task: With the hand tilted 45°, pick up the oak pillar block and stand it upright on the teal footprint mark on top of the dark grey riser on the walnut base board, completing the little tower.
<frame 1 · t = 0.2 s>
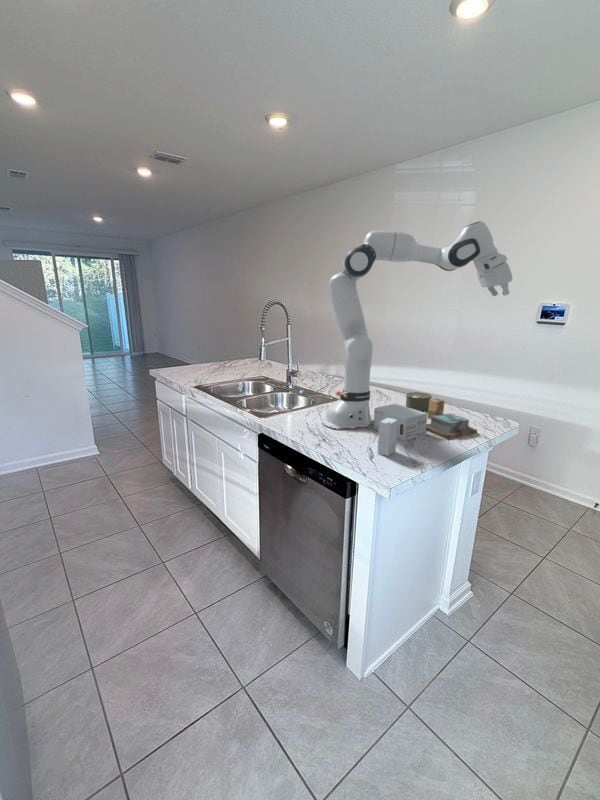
hand: (500, 295, 146), 54 cm above the worktop, tool tilted 30°, fingers open, 8 cm apart
skincare box: (386, 453, 130), on the worktop
can: (417, 408, 183), on the worktop
supplement box: (398, 432, 151), on the worktop
build base: (448, 430, 151), on the worktop
oak pillar: (435, 419, 166), on the worktop
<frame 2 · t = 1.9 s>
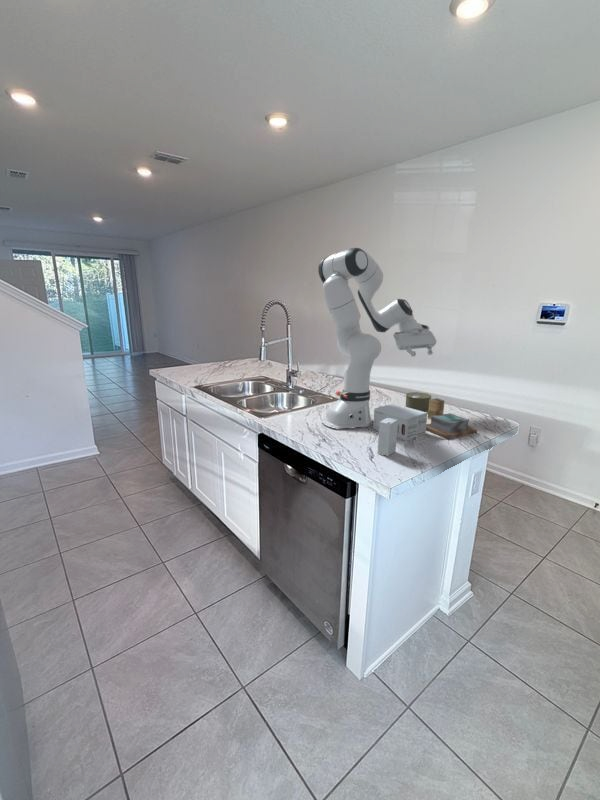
hand: (422, 354, 169), 28 cm above the worktop, tool tilted 45°, fingers open, 8 cm apart
nothing on the worktop moved.
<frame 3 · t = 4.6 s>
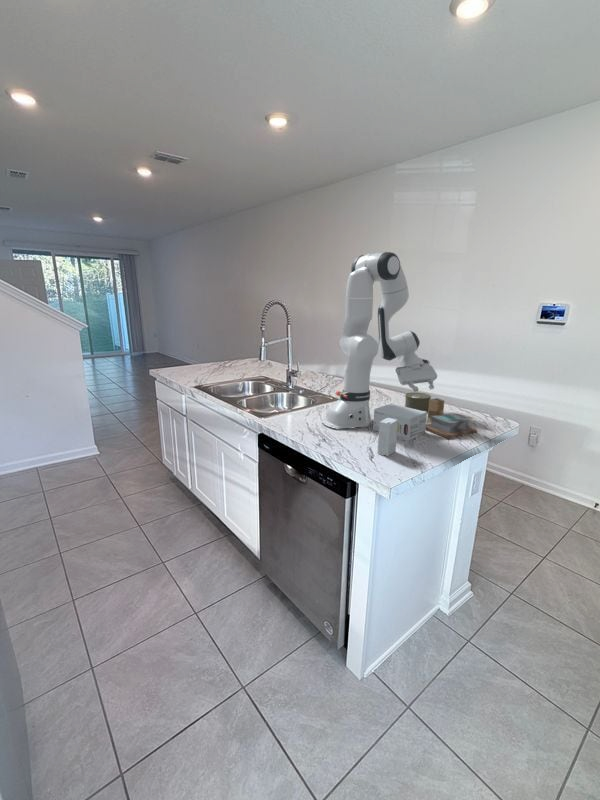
hand: (424, 389, 170), 12 cm above the worktop, tool tilted 45°, fingers open, 8 cm apart
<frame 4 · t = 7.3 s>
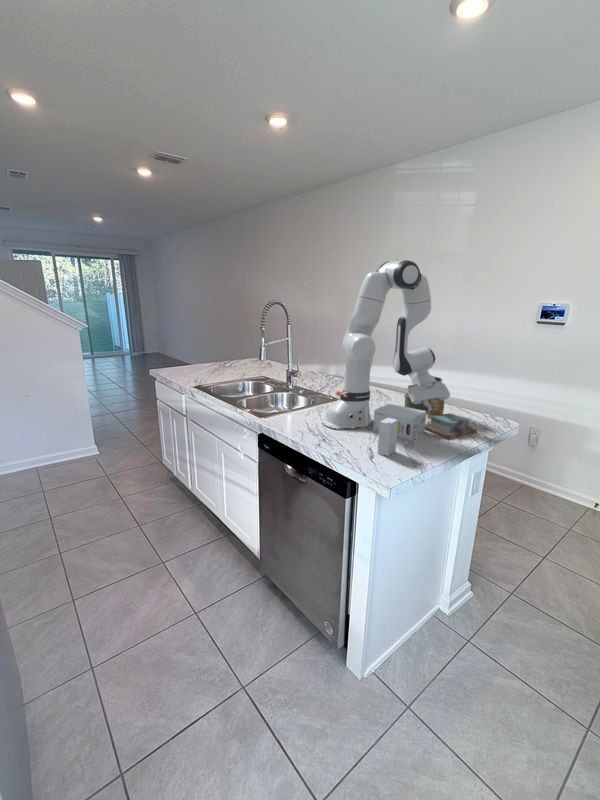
hand: (437, 409, 164), 5 cm above the worktop, tool tilted 45°, fingers closed on oak pillar, 4 cm apart
oak pillar: (435, 419, 166), on the worktop, touching gripper
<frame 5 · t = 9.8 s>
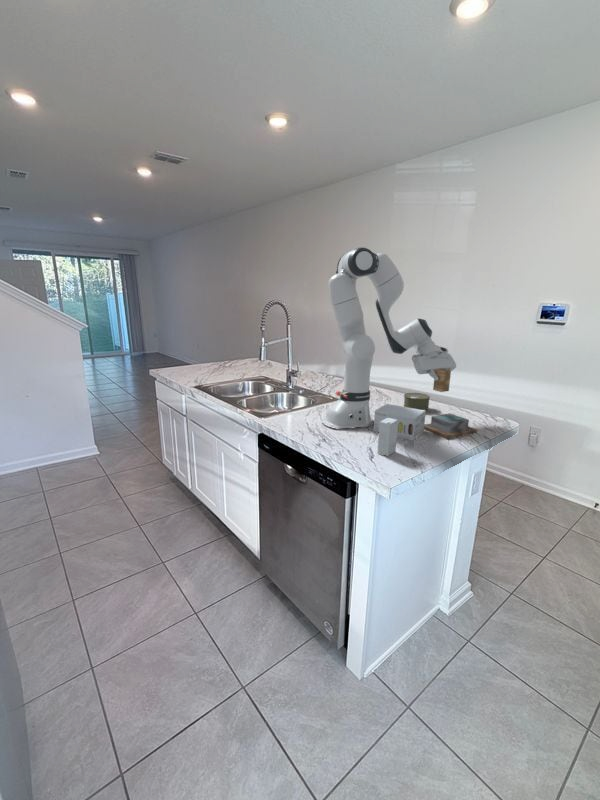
hand: (443, 379, 157), 19 cm above the worktop, tool tilted 45°, fingers closed on oak pillar, 4 cm apart
oak pillar: (440, 390, 159), point 14 cm above the worktop, touching gripper
when the fingers open (12 cm above the worktop, at t = 12.6 s): oak pillar drops 1 cm, resting on build base.
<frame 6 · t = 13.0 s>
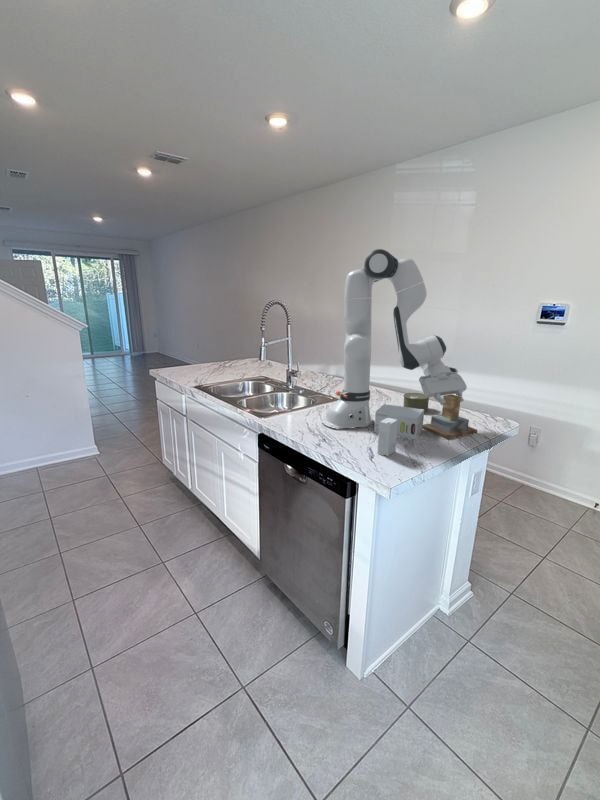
hand: (452, 402, 147), 12 cm above the worktop, tool tilted 45°, fingers open, 8 cm apart
oak pillar: (449, 417, 150), point 6 cm above the worktop, touching build base
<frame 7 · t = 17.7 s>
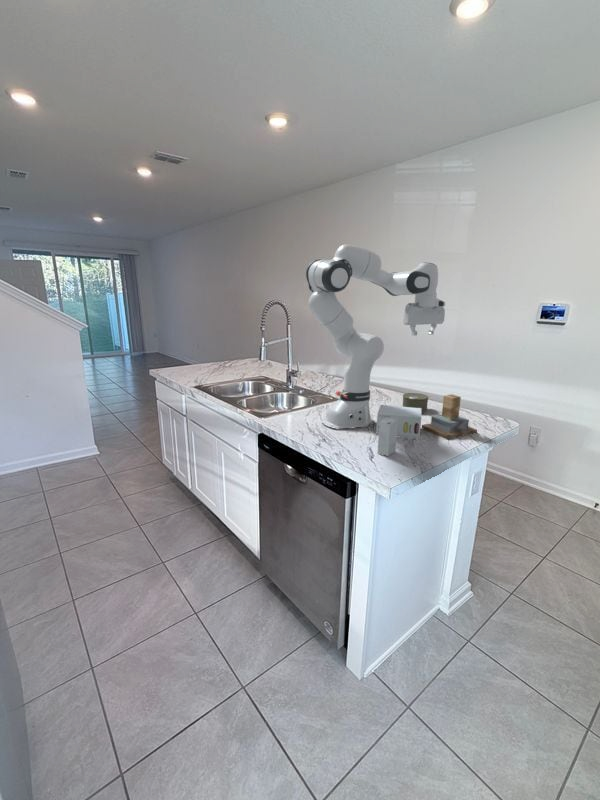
hand: (422, 334, 163), 37 cm above the worktop, tool pointing down, fingers open, 8 cm apart
at the end: oak pillar 0.0 cm off-centre on the build base, point 5.7 cm above the build base's base; oak pillar tilted 0°; the gripper is holding nothing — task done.
